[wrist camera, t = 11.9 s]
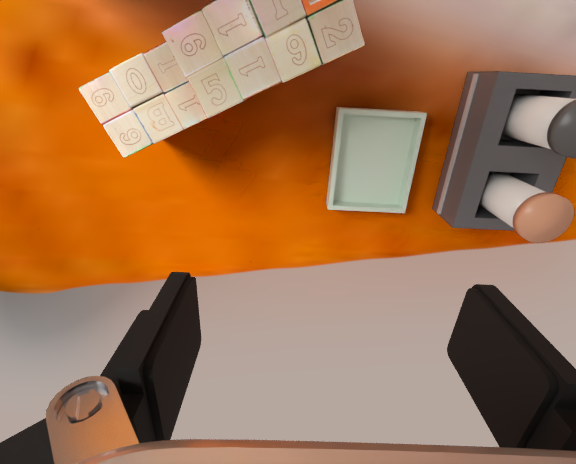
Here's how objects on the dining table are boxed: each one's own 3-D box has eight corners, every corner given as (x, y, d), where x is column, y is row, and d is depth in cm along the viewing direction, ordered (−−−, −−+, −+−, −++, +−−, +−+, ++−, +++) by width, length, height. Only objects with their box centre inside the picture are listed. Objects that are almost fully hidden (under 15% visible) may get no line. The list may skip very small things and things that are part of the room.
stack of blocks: (160, 139, 37) (103, 168, 25) (127, 82, 34) (48, 87, 23) (341, 55, 33) (367, 45, 22) (319, -16, 30) (337, -67, 19)
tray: (336, 106, 35) (338, 108, 33) (420, 111, 35) (427, 113, 33) (326, 203, 40) (327, 209, 38) (399, 206, 40) (404, 213, 38)
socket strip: (465, 71, 33) (496, 71, 28) (554, 76, 33) (600, 77, 29) (430, 208, 40) (450, 227, 35) (504, 212, 40) (535, 231, 35)
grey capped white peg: (493, 90, 33) (571, 96, 24) (536, 92, 33) (630, 99, 24) (479, 135, 35) (546, 156, 26) (520, 137, 35) (601, 159, 26)
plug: (471, 164, 36) (531, 194, 27) (510, 167, 36) (583, 197, 27) (459, 201, 38) (511, 241, 29) (496, 204, 38) (560, 244, 29)
